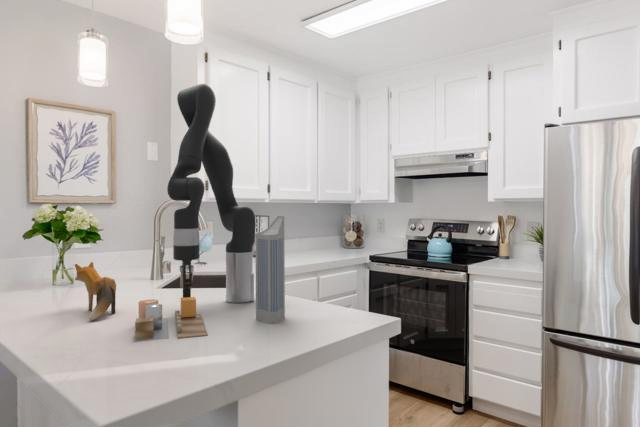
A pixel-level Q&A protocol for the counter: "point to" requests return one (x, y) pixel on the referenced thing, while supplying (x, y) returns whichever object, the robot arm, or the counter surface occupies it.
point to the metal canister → (155, 314)
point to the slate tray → (157, 332)
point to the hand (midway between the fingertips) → (186, 301)
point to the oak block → (144, 328)
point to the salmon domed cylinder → (143, 306)
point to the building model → (270, 273)
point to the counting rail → (189, 326)
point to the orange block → (188, 307)
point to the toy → (97, 290)
